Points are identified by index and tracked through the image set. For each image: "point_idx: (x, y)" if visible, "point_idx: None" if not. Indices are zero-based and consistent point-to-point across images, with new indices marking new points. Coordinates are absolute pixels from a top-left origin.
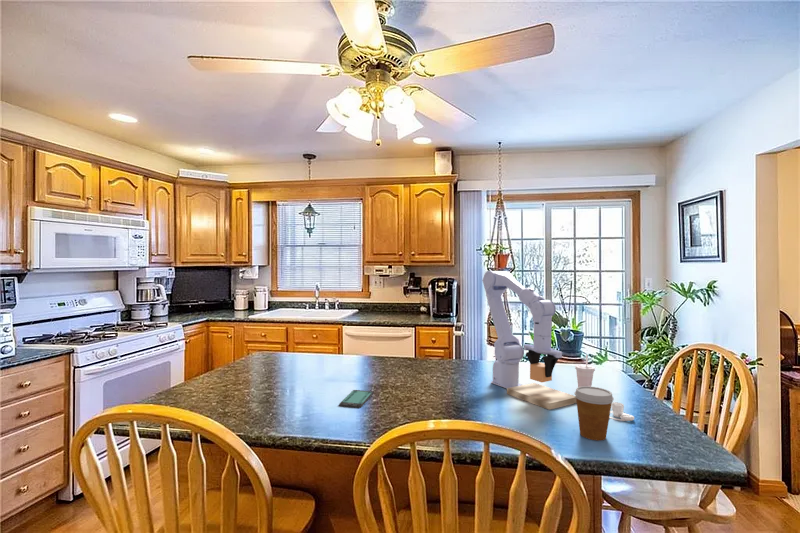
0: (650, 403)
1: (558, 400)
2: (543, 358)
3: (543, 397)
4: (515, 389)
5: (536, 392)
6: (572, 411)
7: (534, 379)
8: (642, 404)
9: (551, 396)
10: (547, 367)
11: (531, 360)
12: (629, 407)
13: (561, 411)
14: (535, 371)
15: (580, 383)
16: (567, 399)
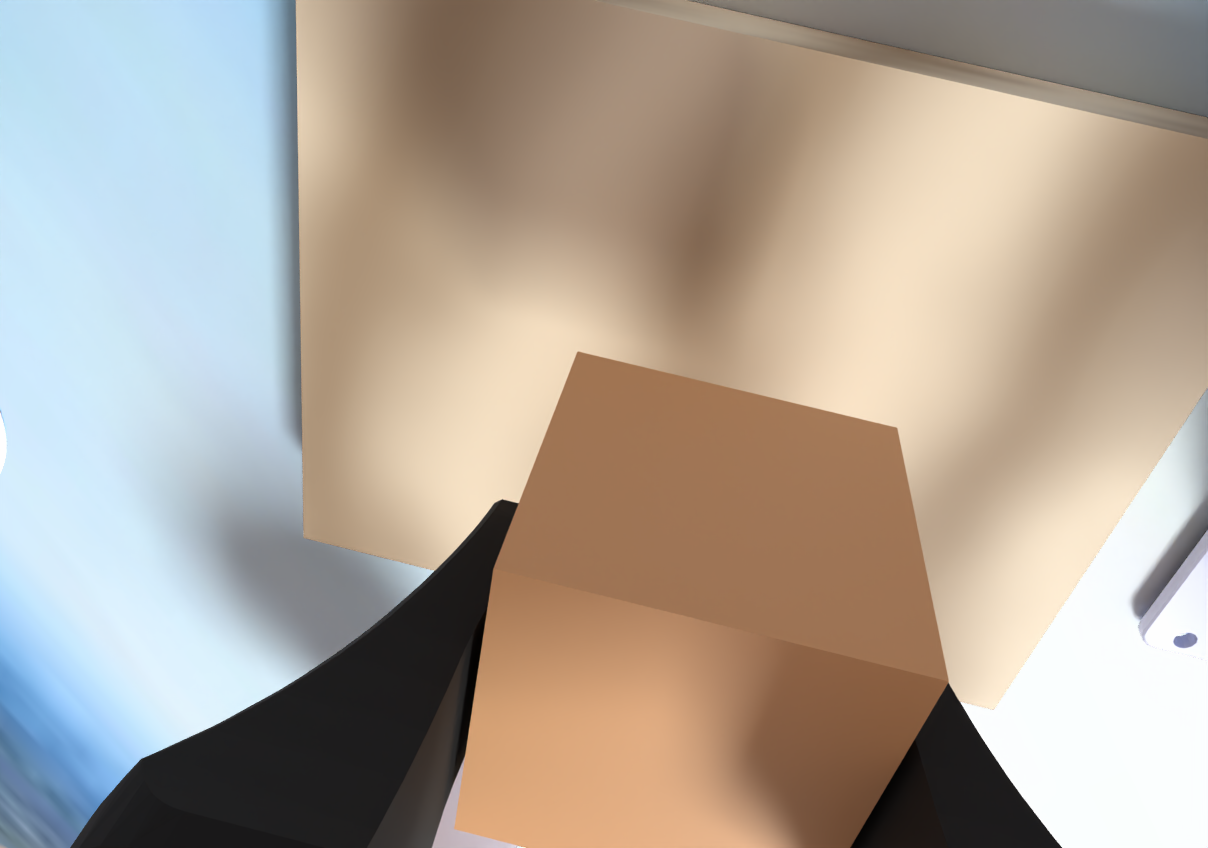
0: (51, 823)
1: (322, 217)
2: (352, 831)
3: (546, 177)
4: (1150, 222)
5: (761, 336)
6: (149, 150)
7: (770, 404)
8: (54, 778)
9: (498, 321)
10: (377, 629)
11: (961, 840)
12: (33, 665)
13: (210, 20)
14: (741, 516)
15: (443, 843)
16: (304, 370)
